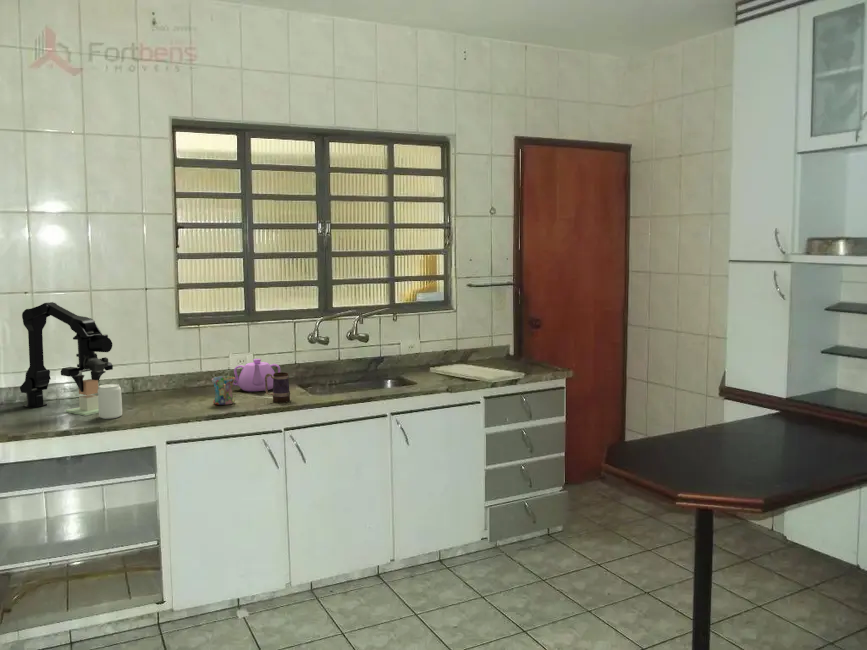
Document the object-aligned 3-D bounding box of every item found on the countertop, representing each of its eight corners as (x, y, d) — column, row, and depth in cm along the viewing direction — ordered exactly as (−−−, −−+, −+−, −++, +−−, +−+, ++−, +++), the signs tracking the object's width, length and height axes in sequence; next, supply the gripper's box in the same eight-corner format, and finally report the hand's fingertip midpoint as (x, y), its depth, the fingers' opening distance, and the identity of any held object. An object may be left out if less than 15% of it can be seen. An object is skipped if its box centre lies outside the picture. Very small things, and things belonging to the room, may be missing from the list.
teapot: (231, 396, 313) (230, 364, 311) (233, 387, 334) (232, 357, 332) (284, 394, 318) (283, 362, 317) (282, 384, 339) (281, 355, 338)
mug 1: (211, 402, 302) (210, 377, 300) (234, 400, 305) (234, 375, 304) (213, 408, 290) (212, 382, 289) (237, 406, 294) (236, 380, 292)
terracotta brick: (86, 395, 283) (86, 382, 282) (79, 393, 285) (78, 381, 285) (98, 392, 287) (97, 380, 286) (90, 391, 290) (90, 379, 289)
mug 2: (288, 398, 308) (287, 370, 307) (292, 402, 301) (291, 373, 300) (263, 401, 304) (262, 372, 302) (267, 404, 297) (266, 375, 296)
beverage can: (113, 419, 272) (111, 388, 271) (94, 418, 274) (92, 387, 273) (126, 414, 280) (125, 384, 279) (108, 413, 282) (106, 383, 280)
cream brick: (87, 410, 283) (86, 398, 283) (79, 409, 286) (79, 396, 285) (99, 408, 288) (98, 395, 287) (91, 406, 290) (90, 394, 290)
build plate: (66, 412, 285) (66, 410, 285) (94, 406, 295) (94, 404, 295) (85, 415, 279) (84, 413, 279) (113, 409, 289) (112, 407, 289)
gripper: (76, 356, 272) (78, 397, 274) (120, 349, 288) (122, 388, 290) (58, 353, 278) (61, 394, 280) (103, 347, 294) (105, 385, 296)
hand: (88, 390), depth 286 cm, fingers closed on terracotta brick, 5 cm apart
